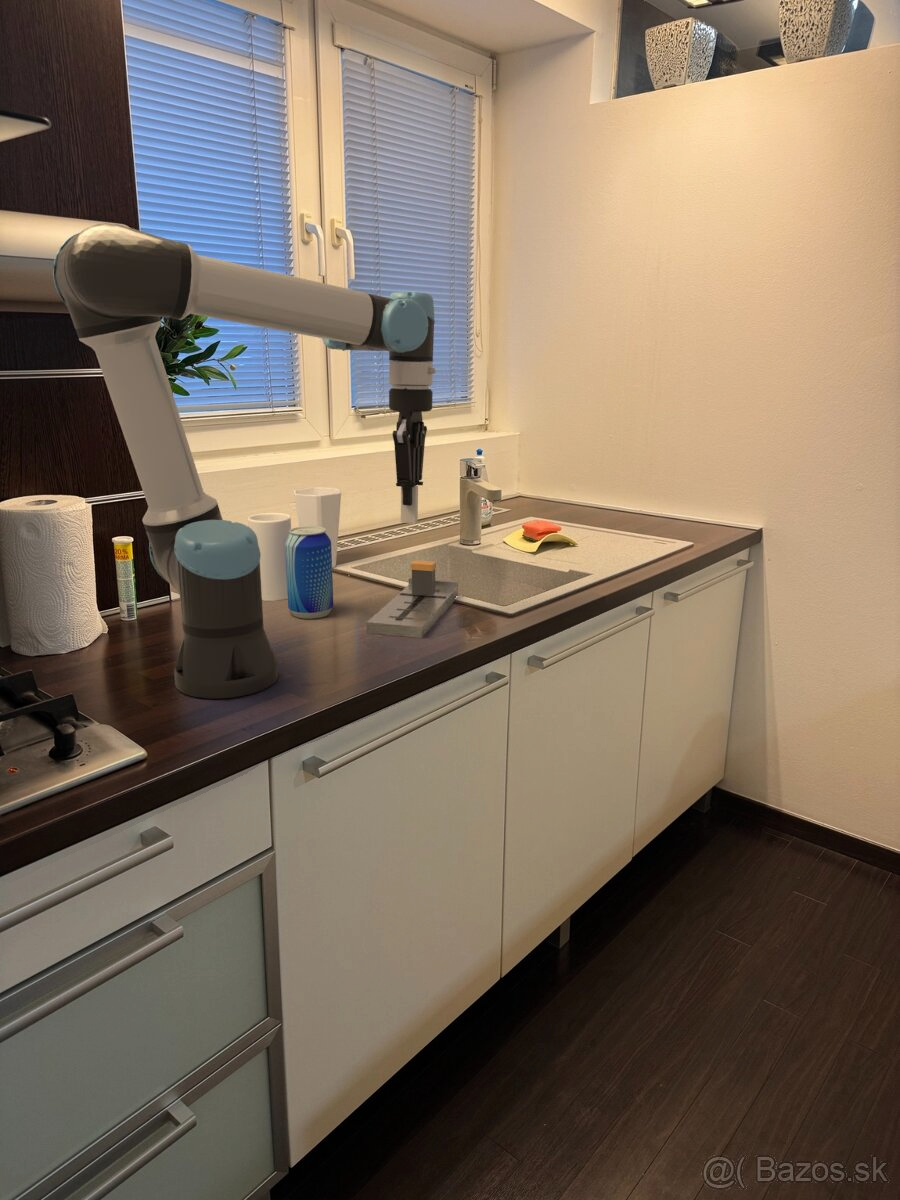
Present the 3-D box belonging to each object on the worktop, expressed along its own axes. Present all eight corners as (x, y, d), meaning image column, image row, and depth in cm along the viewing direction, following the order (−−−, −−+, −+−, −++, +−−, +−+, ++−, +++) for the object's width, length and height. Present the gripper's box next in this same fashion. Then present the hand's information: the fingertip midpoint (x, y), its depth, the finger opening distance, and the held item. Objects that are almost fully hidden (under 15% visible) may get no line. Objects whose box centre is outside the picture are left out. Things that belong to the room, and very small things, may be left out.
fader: (432, 596, 165) (432, 565, 164) (411, 594, 166) (411, 563, 165) (435, 592, 168) (435, 561, 166) (415, 591, 169) (415, 560, 167)
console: (421, 638, 149) (421, 620, 148) (367, 632, 152) (366, 615, 151) (458, 596, 173) (458, 581, 173) (410, 592, 176) (410, 577, 175)
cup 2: (311, 574, 189) (308, 497, 184) (287, 565, 196) (283, 490, 191) (353, 566, 196) (351, 491, 191) (328, 557, 203) (325, 485, 198)
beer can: (316, 603, 168) (312, 523, 164) (342, 613, 162) (340, 530, 158) (279, 612, 163) (275, 529, 158) (305, 623, 157) (301, 537, 152)
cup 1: (285, 602, 169) (281, 521, 164) (246, 599, 171) (240, 519, 166) (300, 590, 177) (296, 513, 172) (262, 588, 178) (258, 511, 174)
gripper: (421, 389, 142) (418, 530, 148) (441, 386, 154) (438, 517, 160) (377, 387, 143) (377, 527, 150) (401, 385, 156) (400, 514, 162)
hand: (409, 522), depth 155 cm, fingers closed
